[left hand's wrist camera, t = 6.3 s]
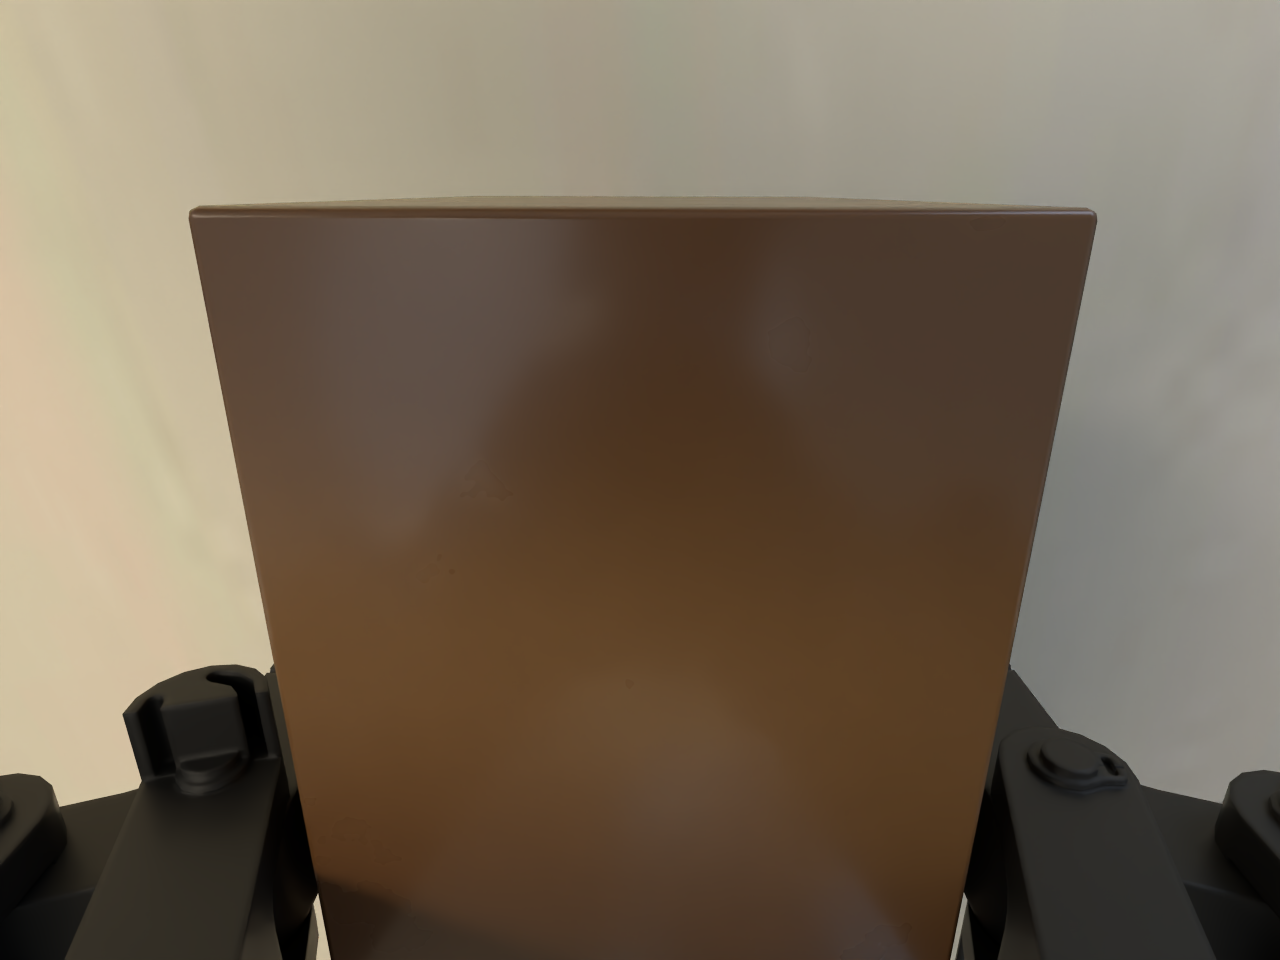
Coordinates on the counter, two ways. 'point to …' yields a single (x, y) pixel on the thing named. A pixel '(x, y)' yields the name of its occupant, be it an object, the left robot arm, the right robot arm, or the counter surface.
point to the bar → (641, 555)
